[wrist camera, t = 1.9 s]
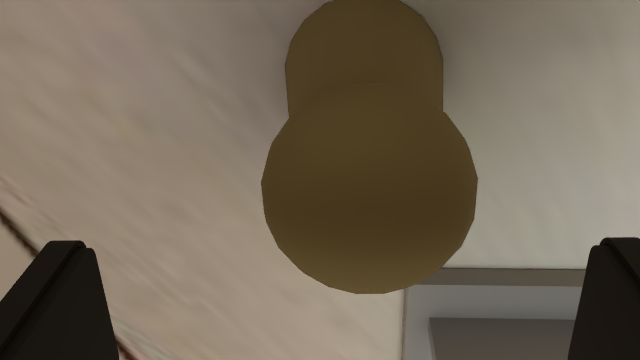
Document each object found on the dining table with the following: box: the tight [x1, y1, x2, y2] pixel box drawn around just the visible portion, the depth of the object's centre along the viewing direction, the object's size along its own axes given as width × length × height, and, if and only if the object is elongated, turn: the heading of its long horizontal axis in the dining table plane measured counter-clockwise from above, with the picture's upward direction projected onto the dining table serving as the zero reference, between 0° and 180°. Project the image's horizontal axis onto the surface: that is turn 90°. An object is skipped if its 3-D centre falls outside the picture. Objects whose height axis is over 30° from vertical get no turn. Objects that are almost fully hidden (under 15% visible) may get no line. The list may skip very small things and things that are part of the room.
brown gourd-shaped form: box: [261, 0, 478, 294], centre depth 18 cm, size 6×6×11 cm
